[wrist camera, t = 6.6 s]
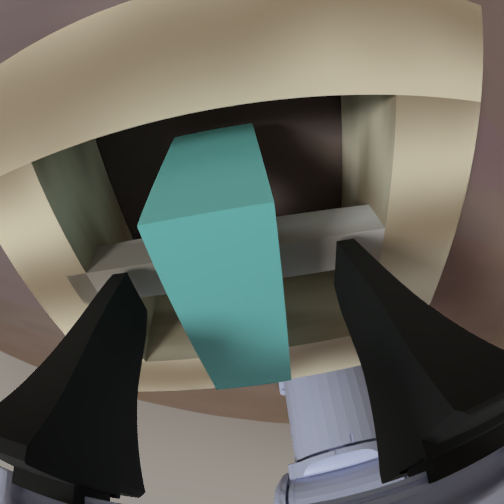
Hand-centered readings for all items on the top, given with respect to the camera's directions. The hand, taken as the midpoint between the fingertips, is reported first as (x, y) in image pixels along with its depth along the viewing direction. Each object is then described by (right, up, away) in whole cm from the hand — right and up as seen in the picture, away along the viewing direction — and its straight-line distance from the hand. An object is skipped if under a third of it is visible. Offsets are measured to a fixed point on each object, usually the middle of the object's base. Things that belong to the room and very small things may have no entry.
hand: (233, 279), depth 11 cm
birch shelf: (0, +3, +4) cm, 6 cm away
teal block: (0, +2, +3) cm, 4 cm away
